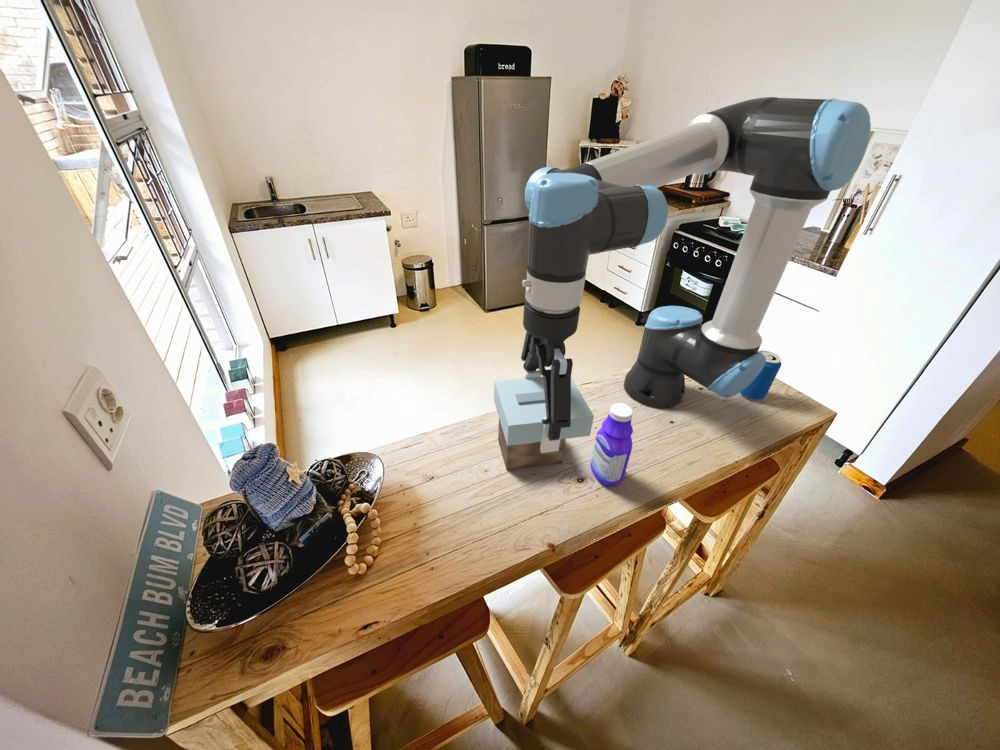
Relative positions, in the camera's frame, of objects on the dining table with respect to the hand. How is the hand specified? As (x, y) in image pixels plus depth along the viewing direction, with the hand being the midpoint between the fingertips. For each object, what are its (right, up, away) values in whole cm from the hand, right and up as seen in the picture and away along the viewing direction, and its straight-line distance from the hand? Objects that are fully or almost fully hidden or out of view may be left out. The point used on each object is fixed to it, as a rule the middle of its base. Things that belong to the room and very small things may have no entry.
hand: (538, 424), depth 68 cm
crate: (0, -8, +22) cm, 24 cm away
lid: (0, +1, -1) cm, 2 cm away
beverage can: (+60, +3, +41) cm, 73 cm away
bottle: (+15, -13, +17) cm, 26 cm away
